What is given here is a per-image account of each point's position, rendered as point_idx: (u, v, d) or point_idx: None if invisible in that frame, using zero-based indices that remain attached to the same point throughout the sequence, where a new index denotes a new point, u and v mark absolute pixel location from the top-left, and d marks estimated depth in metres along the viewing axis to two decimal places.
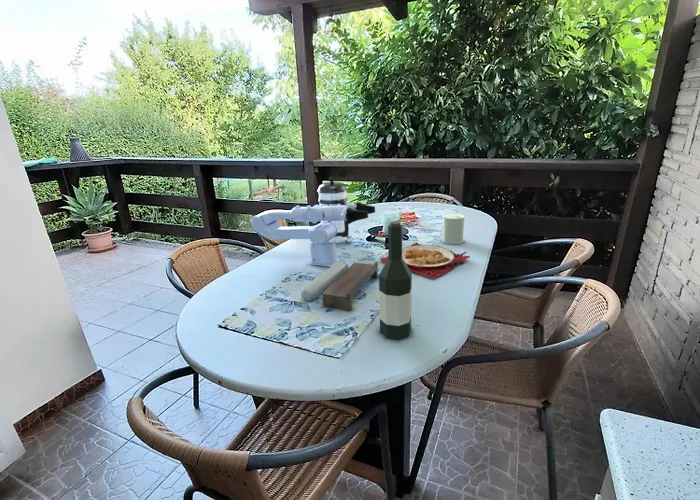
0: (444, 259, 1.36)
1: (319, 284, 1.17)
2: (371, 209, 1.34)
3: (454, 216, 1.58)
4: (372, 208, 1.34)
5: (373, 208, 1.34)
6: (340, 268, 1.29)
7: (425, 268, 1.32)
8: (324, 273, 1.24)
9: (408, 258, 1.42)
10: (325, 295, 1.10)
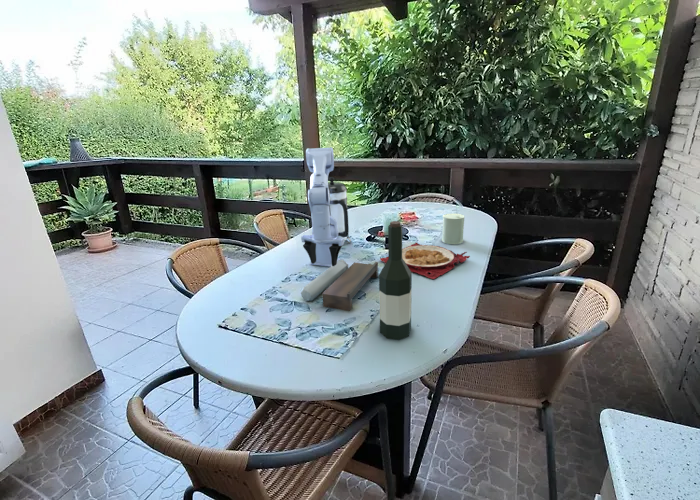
0: (444, 259, 1.36)
1: (319, 284, 1.17)
2: None
3: (454, 216, 1.58)
4: None
5: None
6: (340, 268, 1.29)
7: (425, 268, 1.32)
8: (324, 273, 1.24)
9: (408, 258, 1.42)
10: (325, 295, 1.10)
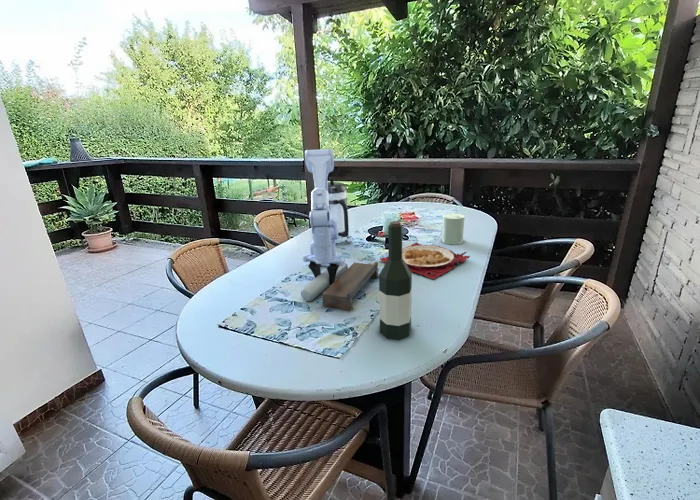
0: (444, 259, 1.36)
1: (319, 284, 1.17)
2: None
3: (454, 216, 1.58)
4: None
5: None
6: (339, 268, 1.29)
7: (425, 268, 1.32)
8: (324, 273, 1.24)
9: (408, 258, 1.42)
10: (325, 295, 1.10)
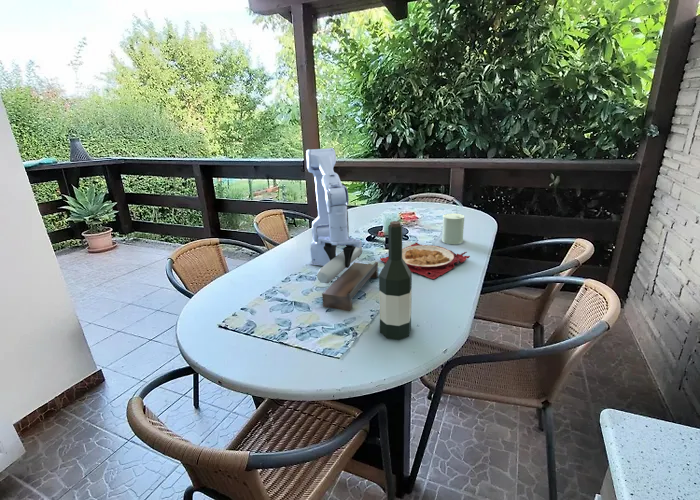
0: (444, 259, 1.36)
1: (335, 266, 1.13)
2: None
3: (454, 216, 1.58)
4: None
5: None
6: (354, 251, 1.25)
7: (425, 268, 1.32)
8: (339, 256, 1.19)
9: (408, 258, 1.42)
10: (325, 295, 1.10)
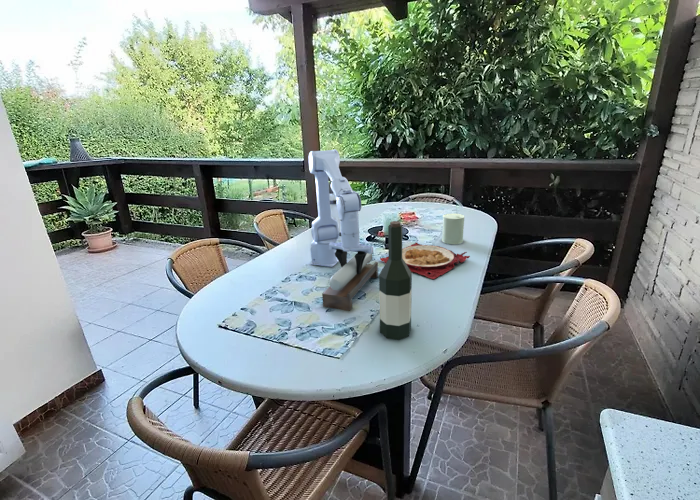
0: (444, 259, 1.36)
1: (347, 273, 1.12)
2: None
3: (454, 216, 1.58)
4: None
5: None
6: None
7: (425, 268, 1.32)
8: (350, 262, 1.18)
9: (408, 258, 1.42)
10: (325, 295, 1.10)
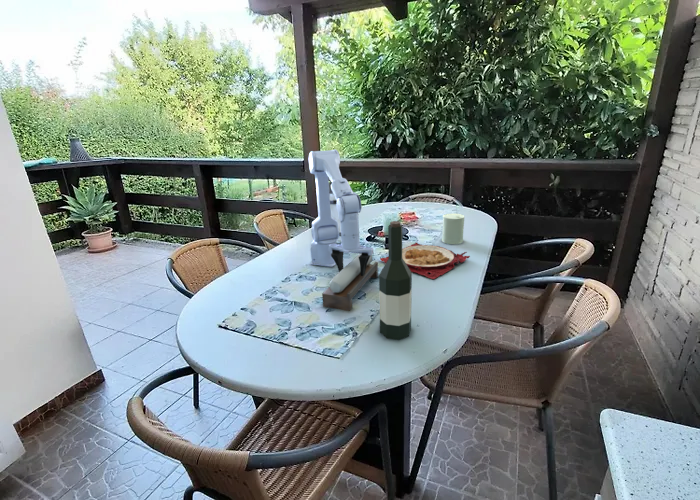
0: (444, 259, 1.36)
1: (347, 275, 1.12)
2: None
3: (454, 216, 1.58)
4: None
5: None
6: None
7: (425, 268, 1.32)
8: (350, 264, 1.18)
9: (408, 258, 1.42)
10: (325, 295, 1.10)
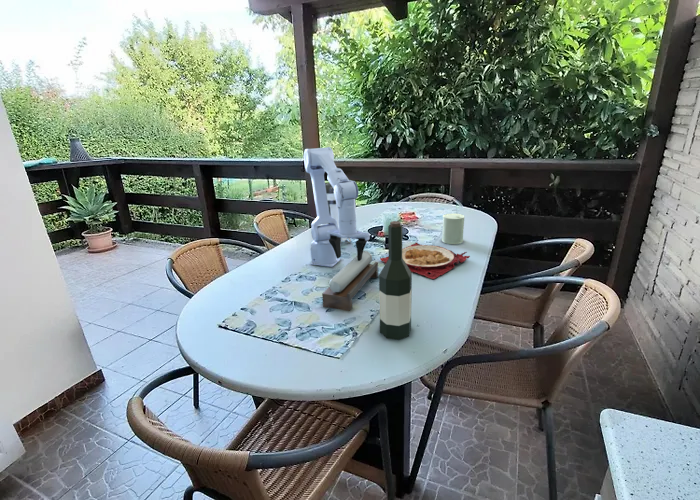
0: (444, 259, 1.36)
1: (347, 275, 1.12)
2: None
3: (454, 216, 1.58)
4: None
5: None
6: (364, 258, 1.24)
7: (425, 268, 1.32)
8: (350, 264, 1.18)
9: (408, 258, 1.42)
10: (325, 295, 1.10)
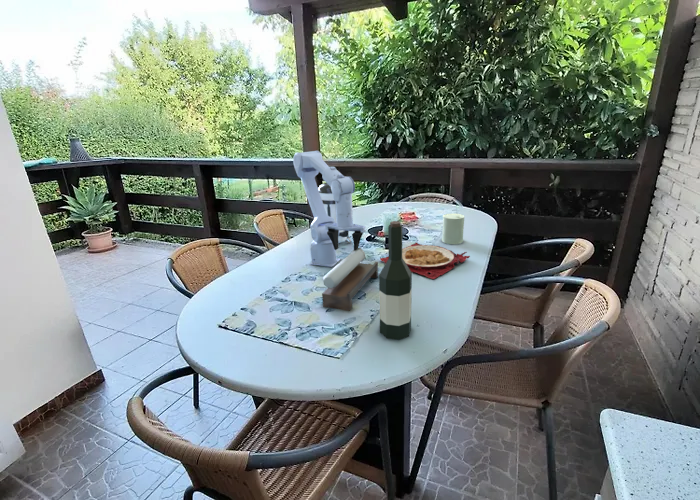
0: (444, 259, 1.36)
1: (336, 268, 1.13)
2: None
3: (454, 216, 1.58)
4: None
5: None
6: (353, 253, 1.25)
7: (425, 268, 1.32)
8: None
9: (408, 258, 1.42)
10: (325, 295, 1.10)
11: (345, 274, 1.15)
